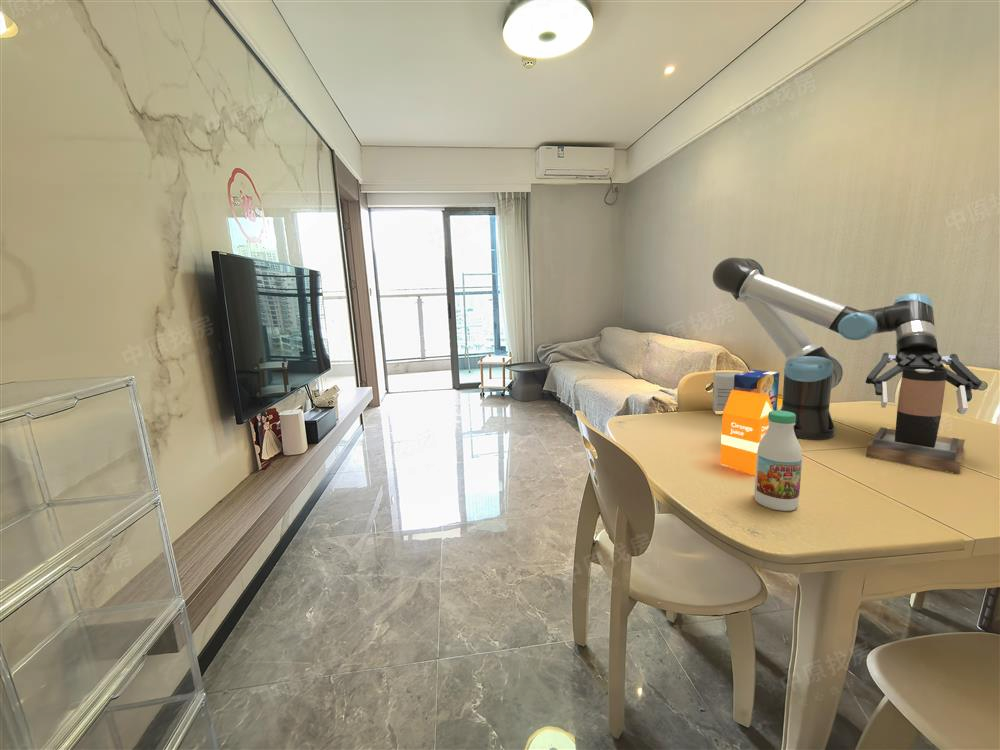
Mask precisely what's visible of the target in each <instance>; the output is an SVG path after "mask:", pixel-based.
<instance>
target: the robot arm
mask: <svg viewBox="0 0 1000 750" xmlns="http://www.w3.org/2000/svg"><path fill="white" fill-rule="evenodd" d="M712 282H713V284H714V285H715V287H716V288H718V289H719V290H721V291H723V292H727V293H730V294H731V295H732V297H733V298H734V299H735V301H736V302H738V303H744V305H745V306H746V307H747V309H748V310H749V311H750V313H752V315H753V317H755V319H756V320H757V322H758V324H760V326H761V327H762V329H764V331H765V332H766V333H767V335H768V337H770V339H771V340H772V342H773V343H774V344H775V345H776V347H777V348H778V349H779V350H780V352H781V353H782V354H783V356H784V357H785V360H784V368H783V374H784V375H783V389H782V401H781V402H782V404H781V408H780V411H788V412H792V413H794V414H795V415H796V421H795V425H794V433H795V436H796V438H797V439H798V438H800V439H808V440H828V439H832V438H834V437H835V432H836V431H835V425H834V421H833V418H832V416H831V413H830V404H831V394H832V389H834V388H835V387H836V386H838V384H840V383H841V381H842V378H843V375H844V369H843V366H842V364H841V362H840V361H839V360H837V359H836V358H834V356H832V355H830V354H829V353H828V352H827V350H825V349H826V348H824V347H823V345H819V344H814V343H813V341H812V340H810V338H809V337H808V336H807V334H806V333H805V332H804V331H803V329H802V328H801V327H800V325H799V324H798V323H797V321H796V320H795V319H794V318H793V317H792V316H791V315H794V316H796V317H798V318H800V319H803V320H805V321H809V322H810V323H814V324H816V325H818V326H821V327H823V328H826V329H829V330H830V331H833V332H835V333H838V334H839V335H840V336H841V337H843V338H845V339H846V340H851V341H860V340H861V341H862V340H866V339H868V338H870V337H871V336H873V335H876V334H882V333H889V332H890V333H891V332H895V341H896V344H895V345H896V355H895V354H889V352H886V351H885V352H883V353H882V356H881V357H880V358H881V359H880V361H879V362H878V363H876V365H875V366H874V368H873V369H872V370H871V371H870V372H869V373H868V374H867V376H866V380H865V383H866V384H868V385H870V384H871V385H873V387H874V393H875V394H874V395H876V396H880V406H881V407H880V408H882V409H883V408H884V409H886V407H887V405H888V389H887V388H888V387H887V386H888V385H887V382H888V381H889V380H891V379H892V378H895V376H898V374H900V373H903V368H904V367H909V366H924V367H937V368H943V369H946V370H947V376H946V382H947V383H949V384H950V385H952V386H953V387H955V388H957V389H956V391H955V392H956V400H957V405H958V413H959V415H965V414H966V412H967V410H969V404H968V402H970V401H971V400H972V398H973V393H972V390H974V391H975V390H979V388H980V387H981V385H982V384H983V382H982V380H981V379H979V378H978V376H977V375H975V374H974V373H973V372H972V371H971V370H970V369H969V368H968V367H967V366H966V365H965V364H963V363H962V362H961V361H960V360H959V359H960V358H959V356H958V354H956V353H950V354H949V355H945V356H943V355H941V354H939V350H938V349H939V348H938V341H937V332H936V327H935V317H934V309H933V305H932V301H931V298H930V297H928V296H927V295H926V294H922V293H914V292H913V293H907V294H904V295H902V296H899V297H897V299H896V300H894V302H893V305H888V306H883V307H877V308H871V309H865V310H859V309H857V308H854V307H850V306H847V305H845V304H842V303H839V302H837V301H834V300H831V299H829V298H826V297H824V296H820V295H818V294H815V293H812V292H810V291H808V290H804V289H802V288H799V287H796V286H794V285H791V284H788V283H786V282H783V281H781V280H777V279H775V278H772V277H769V276H767V275H766V274H765V271H764V268H763V266H762V264H761V263H760V262H758V261H757V260H755V259H753V258H748V257H728V258H726V259H725V258H724V260H722V261H720V262H719V263H718V264H717V265H716V266H715V268H714V270H713V272H712ZM892 361H895V362H896V365H895V366H893V367H892V368H890V369H889V370H887V371H885V372H884V373H883V374H881V375H880V373H881V372H882V370H884V368H886V366H887V364H889V363H891V362H892ZM941 362H943V363H944V364H943V363H941ZM944 365H946V366H948V367H949V368H950V369H951V370H950V369H948V368H947V367H945V366H944ZM878 375H880V376H878Z"/></svg>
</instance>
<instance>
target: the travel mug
mask: <svg viewBox="0 0 1000 750" xmlns="http://www.w3.org/2000/svg"><path fill="white" fill-rule="evenodd" d="M901 373H902V375H901V382H900V389H899V395H898V403H897V408H896V410H897V411H896V421H895V430H896V431H895V442H901V443H907V444H913V445H919V446H925V447H931V448H934V447H935V443H936V439H937V436H938V434H939V433H938V432H939V429H940V424H941V423H940V422H941V419H942V412H943V411H942V410H943V404H944V396H945V388H946V382H947V381H946V376H947V370H946V369H943V368H937V367H924V366H909V367H904V368H903V372H901Z"/></svg>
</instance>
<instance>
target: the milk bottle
mask: <svg viewBox="0 0 1000 750" xmlns="http://www.w3.org/2000/svg"><path fill="white" fill-rule="evenodd" d="M795 421H796V415H795V414H794V413H792V412H788V411H780V410H778V409H777V410H775V411H770V412H769V413H768V422H769V427H768V429H767V431H766V433H765V435H764V436H763V438H762V439H761V441H760V443H759V446H758V450H757V460H756V474H755V476H754V490H753V491H754V492H753V494H754V495H753V497H754V499H755V501H756V503H758V504H760V505H762V506H763V507H765V508H768V509H771V510H775V511H781V512H791V511H794V510H796V509H797V508H798V507H799V502H800V491H801V489H800V488H801V481H802V480H801V477H802V465H803V464H802V463H803V459H802V458H803V453H802V448H801V445H800V442H799V441H798V437H796V436H795V433H794V425H795Z"/></svg>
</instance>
